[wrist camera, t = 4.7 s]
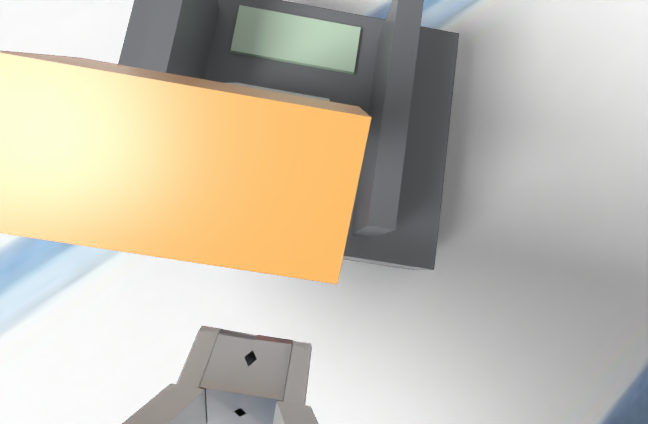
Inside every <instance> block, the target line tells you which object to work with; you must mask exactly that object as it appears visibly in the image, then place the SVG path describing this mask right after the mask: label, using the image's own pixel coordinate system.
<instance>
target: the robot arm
mask: <svg viewBox="0 0 648 424" xmlns="http://www.w3.org/2000/svg"><path fill="white" fill-rule="evenodd" d="M292 342H293V343H292ZM311 350H312V347H311V343H304V342H297V341H293V340H288V339H281V338H274V337H268V336H261V335H252V334H247V333H241V332H235V331H229V330H223V329H220V328H213V327H207V326H202V327H201V328H200V330H199V331H198V333H197V336H196V338H195V341H194V343H193V345H192V348H191V350H190V353H189V355H188V357H187V360H186V362H185V365H184V367H183V370H182V372H181V374H180V377H179V379H178V382H177V384H170V385H168V386H167V387H166V388H165V389H164V390H162V391H161V392H160V393H159V394H157V395H156V396H155V397H154V398H153V399H151V400H150V401H149V402H148V403H147V404H145V405H144V406H143V407H142V408H141V409H139V410H138V411H137V412H136V413H135V414H133V415H132V416H131V417H130V418H128V419H127V420H126V421H125V422H124V423H122V424H318V422H317V420H316V417H315V415H314V413H313V411H312V408H311V406H307V405H305V401H306V393H307V384H308V375H309V367H310V358H311Z"/></svg>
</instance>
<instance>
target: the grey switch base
mask: <svg viewBox="0 0 648 424" xmlns="http://www.w3.org/2000/svg"><path fill="white" fill-rule="evenodd" d="M423 1H424V0H392V3H391V6H390V9H389V12H388V14H387V17H386V20H384V19H378V18H373V17H368V16H362V15H357V14H351V13H346V12H341V11H335V10H330V9H325V8H319V7H314V6H309V5H303V4H298V3H292V2H287V1H282V0H134V4H133V8H132V12H131V16H130V20H129V24H128V28H127V32H126V36H125V40H124V44H123V48H122V52H121V55H120V59H119V63H118V64H119V65H124V66H130V67H136V68H142V69H147V70H153V71H159V72H165V73H170V74H176V75H182V76H187V77H193V78H199V79H205V80H210V81H216V82H222V83H236V82H237V83H243V84H248V85H254V86H260V87H265V88H271V89H277V90H282V91H288V92H294V93H300V94H305V95H311V96H317V97H322V98H328V99H330V102H336V103H342V104H347V105H353V106H359V107H360V108H361V109H362V110H364V111H365V112H366V113H367V114H368V115H369V116H371V117H372V118H371V122H370V127H369V132H368V137H367V142H366V147H365V152H364V157H363V162H362V166H361V171H360V176H359V181H358V186H357V191H356V196H355V201H354V206H353V210H352V215H351V220H350V225H349V230H348V235H347V240H346V245H345V250H344V254H343V259H347V260H353V261H360V262H366V263H373V264H379V265H385V266H392V267H398V268H405V269H422V270H434V265H435V256H436V246H437V237H438V227H439V218H440V208H441V199H442V190H443V180H444V171H445V161H446V152H447V142H448V133H449V123H450V114H451V104H452V95H453V85H454V76H455V66H456V57H457V47H458V38H459V33H453V32H448V31H443V30H437V29H432V28H426V27H421V17H422V9H423Z"/></svg>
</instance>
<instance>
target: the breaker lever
mask: <svg viewBox="0 0 648 424" xmlns="http://www.w3.org/2000/svg"><path fill="white" fill-rule="evenodd" d="M371 118H372V117H371V116H369V115H368V114H367V113H366V112H365V111H364V110H362V109H361V108H360V107H359V106H353V105H347V104H342V103H336V102H330V99H328V98H322V97H317V96H311V95H305V94H300V93H294V92H288V91H282V90H277V89H271V88H265V87H260V86H254V85H248V84H243V83H237V82H236V83H222V82H216V81H210V80H205V79H199V78H193V77H187V76H182V75H176V74H170V73H165V72H159V71H153V70H147V69H142V68H136V67H130V66H124V65H119V64H113V63H107V62H102V61H96V60H90V59H84V58H78V57H67V56H55V55H44V54H33V53H22V52H11V51H0V233H3V234H10V235H16V236H23V237H30V238H36V239H43V240H49V241H56V242H63V243H69V244H76V245H82V246H89V247H96V248H102V249H109V250H115V251H122V252H128V253H135V254H142V255H148V256H155V257H161V258H168V259H175V260H181V261H188V262H194V263H201V264H208V265H214V266H221V267H227V268H234V269H240V270H247V271H254V272H260V273H267V274H273V275H280V276H287V277H293V278H300V279H306V280H313V281H320V282H326V283H333V284H338V279H339V274H340V269H341V264H342V259H343V254H344V250H345V245H346V240H347V235H348V230H349V225H350V220H351V215H352V210H353V206H354V201H355V196H356V191H357V186H358V181H359V176H360V171H361V166H362V162H363V157H364V152H365V147H366V142H367V137H368V132H369V127H370V122H371Z"/></svg>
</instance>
